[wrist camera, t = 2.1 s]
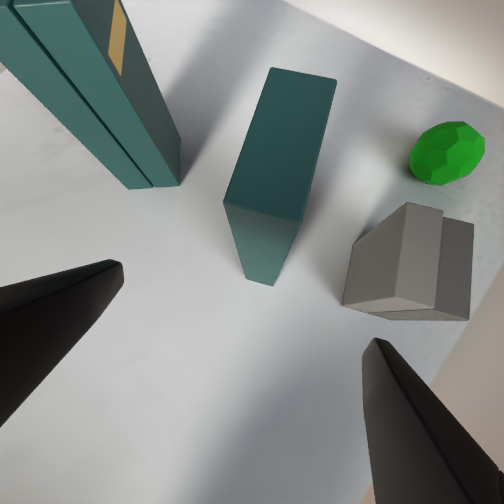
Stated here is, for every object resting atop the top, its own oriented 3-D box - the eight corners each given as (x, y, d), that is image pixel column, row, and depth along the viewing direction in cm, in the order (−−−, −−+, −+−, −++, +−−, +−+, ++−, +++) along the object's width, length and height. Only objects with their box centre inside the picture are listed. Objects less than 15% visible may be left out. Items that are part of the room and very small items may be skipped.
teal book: (273, 286, 20) (302, 223, 7) (245, 278, 21) (221, 202, 7) (289, 227, 22) (338, 78, 8) (262, 221, 22) (269, 65, 8)
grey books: (392, 320, 19) (480, 321, 12) (341, 305, 20) (393, 297, 12) (400, 256, 21) (484, 219, 13) (352, 244, 21) (406, 201, 13)
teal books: (180, 186, 23) (70, 0, 10) (128, 190, 23) (-54, 10, 10) (181, 138, 25) (87, -81, 11) (131, 142, 25) (-21, -72, 11)
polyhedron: (455, 156, 23) (503, 115, 19) (450, 200, 22) (500, 169, 17) (402, 144, 24) (436, 102, 19) (394, 186, 23) (429, 152, 18)
